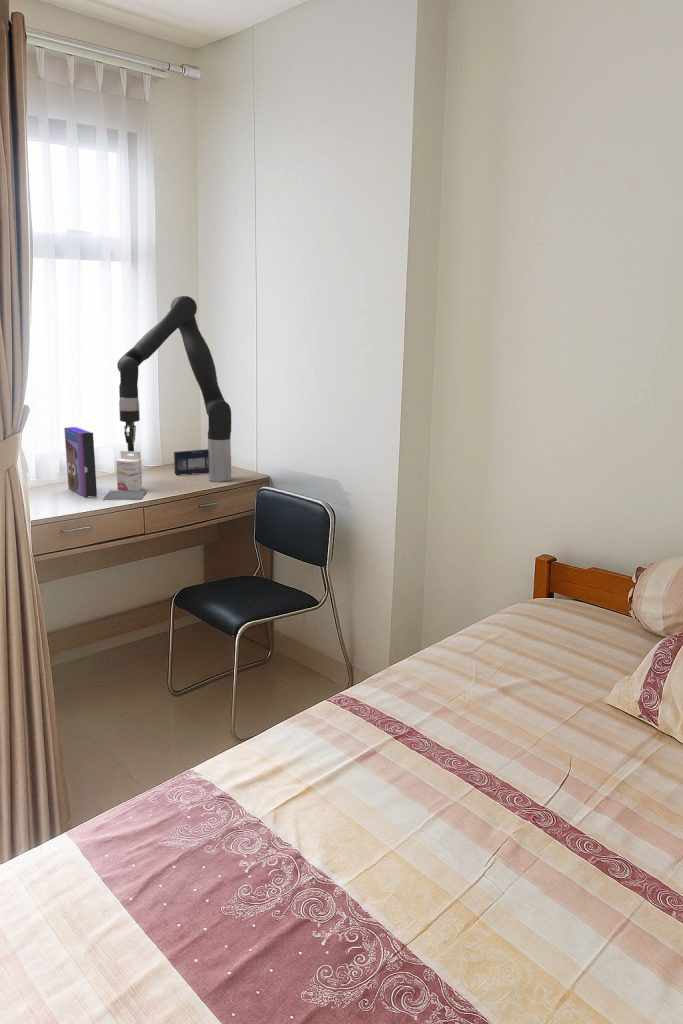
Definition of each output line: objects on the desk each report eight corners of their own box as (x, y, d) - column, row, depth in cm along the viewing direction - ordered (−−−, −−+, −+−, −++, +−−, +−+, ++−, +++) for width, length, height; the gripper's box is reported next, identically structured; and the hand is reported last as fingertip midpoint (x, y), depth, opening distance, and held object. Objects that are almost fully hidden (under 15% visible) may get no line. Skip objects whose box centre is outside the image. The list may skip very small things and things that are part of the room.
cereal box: (68, 488, 302) (64, 427, 296) (80, 487, 305) (76, 426, 299) (84, 497, 289) (80, 433, 283) (97, 495, 292) (93, 432, 286)
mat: (147, 491, 301) (146, 490, 301) (141, 499, 287) (141, 498, 287) (109, 491, 299) (109, 490, 299) (102, 500, 286) (102, 498, 286)
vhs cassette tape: (176, 475, 330) (175, 452, 328) (174, 474, 333) (173, 451, 330) (217, 472, 339) (216, 449, 337) (214, 471, 342) (214, 448, 339)
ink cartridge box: (117, 490, 302) (115, 452, 298) (121, 487, 307) (119, 450, 303) (138, 491, 301) (136, 453, 297) (143, 488, 306) (141, 451, 302)
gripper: (136, 411, 298) (138, 455, 302) (141, 407, 310) (143, 450, 315) (116, 410, 297) (118, 455, 301) (122, 406, 309) (124, 449, 314)
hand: (131, 452), depth 308 cm, fingers closed
